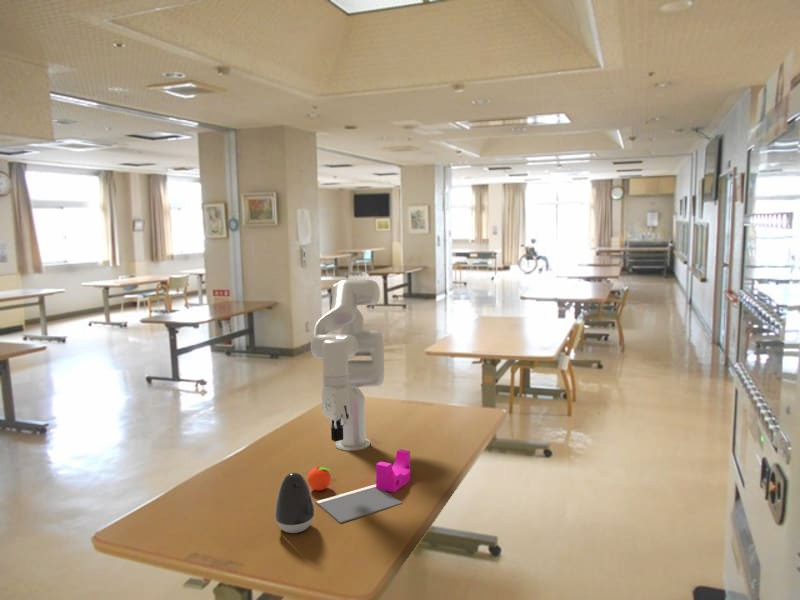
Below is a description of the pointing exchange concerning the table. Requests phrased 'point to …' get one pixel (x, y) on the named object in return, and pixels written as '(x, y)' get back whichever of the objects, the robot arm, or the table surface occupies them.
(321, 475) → the clementine
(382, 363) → the robot arm
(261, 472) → the table surface
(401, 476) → the toy block
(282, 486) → the dark grey rounded cone
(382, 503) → the mat
